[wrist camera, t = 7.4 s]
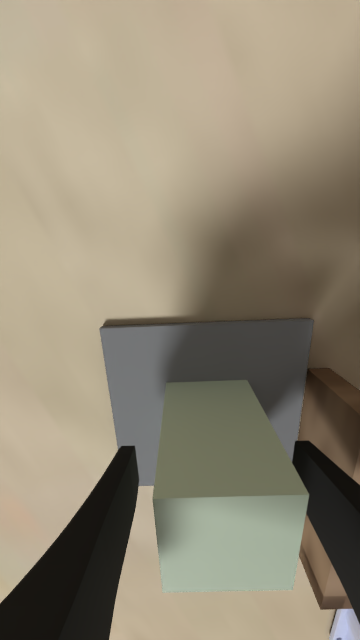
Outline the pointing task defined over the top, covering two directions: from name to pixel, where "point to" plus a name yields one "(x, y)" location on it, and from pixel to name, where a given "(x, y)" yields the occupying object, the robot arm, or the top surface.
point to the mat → (203, 373)
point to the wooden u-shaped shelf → (345, 451)
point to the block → (224, 493)
